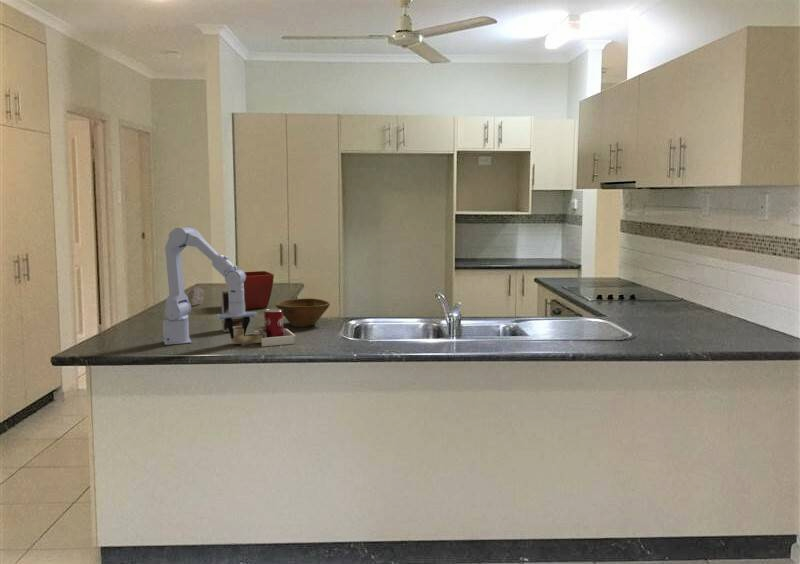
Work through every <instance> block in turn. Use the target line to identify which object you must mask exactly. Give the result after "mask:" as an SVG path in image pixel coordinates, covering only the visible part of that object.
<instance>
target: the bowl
mask: <svg viewBox="0 0 800 564" xmlns="http://www.w3.org/2000/svg"><path fill="white" fill-rule="evenodd" d="M274 305H275V307H276V309H281V310H282V311H283V317H284V318H285V319H286V321H288V322H289V323H290V325H291V326H293V327H300V328H302V327H304V328H305V326H307V327H311V325H312V326H315V324H317V323H318V321H319V320H320V319H321V317H322V316H323V315H324V313H325V312H327V310H328V309H329V307H330V305H331V303H330V301H327V300H324V299H320V298H319V299H318V298H311V297H310V298H309V297H308V298H292V299H291V298H290V299H284V300H281V301H277V302H276V303H275V304H274Z"/></svg>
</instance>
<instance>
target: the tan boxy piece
mask: <svg viewBox="0 0 800 564" xmlns="http://www.w3.org/2000/svg"><path fill="white" fill-rule="evenodd" d="M258 331H259V333H253V332H252V333H245V337H244V328H243V327H242V326H233V339H231V342H232V343H233V344H234V345H240V344H256V343H257V344H258V343H261V338H267V333H266V332H265V331H264V328H258Z"/></svg>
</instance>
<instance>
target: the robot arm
mask: <svg viewBox="0 0 800 564" xmlns="http://www.w3.org/2000/svg"><path fill="white" fill-rule="evenodd" d="M187 246H189V247H195V248H197V250H199V251H200V253H202V254H203V255H205V256H206V257H207V258H208V259H209V260H211V266H212V267H213V268H214V269H215V270H216V272H217V271H218V273H219V274H220V275H221V276H223V278H224V281H225V283H226V284H227V286H228V287H227V289H228V295H229V313H225V314H222V313H217V314H216V320H217V321H222V320H225V322H226V324H227V326H228V329H229V332H228V333H229V335H230V339H231V340H232V339H233V321H232V319H238V318H241V319H242V327H243V328H244V337H245V334H247V333H246V332H247V329H248V326H249V323H250V322H251V318H258V312H257V311H246V312H245V303H244V282H245V280H246V274H245V272H246V271H244V269H242V268H239V267H238V266H237V265H235V264H234V263H233V262H232V261H231V260H230V259H229V256H228V255H224V254H219V253H218V252H217V251H216V250H215V249H214V248H213V247H212V246H211V245H210V244H209V242H208V241H207V240H206V239H205V238H204V237H203V235H202V233H200V232H199V231H197V229H196V228H194V227H193V226H183V227H175V228H173V229H172V230H171V231H170V232H169V233H168V239H167V242H166V245H165V247H164V250H165V261H166V262H165V263H166V273H167V285H168V291H169V292H168V294H169V295H168V296H167V298H166V301H165V308H164V315H165V317H166V318H167V319H166V320H165V319H163V320H162V328H163V329H162V330H163V331H162V333H163V335H162V340H163V344H164V345H167V346H169V345H181V344H191V343H192V340H191V338H190V329H189V328H190V327H189V325H190V323H189V315H190V313H191V312H192V306H191V305H190V303H189V301H188V297H187V296H188V294H186V293H185V286H184V276H183V275H184V274H183V273H184V272H183V266H182V265H183V264H182V254H181V253H182V251H183V250H184V249H185V248H186V247H187ZM241 316H243V317H241Z"/></svg>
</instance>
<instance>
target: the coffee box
mask: <svg viewBox="0 0 800 564" xmlns="http://www.w3.org/2000/svg"><path fill="white" fill-rule="evenodd" d="M244 303H245V312H247V311H246V310H247V309H246V301H245V292H244ZM225 313H229V295H228V291H227V290H226V291H221V314H225ZM241 317H243V316H241ZM232 321H233V326H242V319H241V318H238V319H232ZM221 324H222V325H221V328H222V332H223V333H227V332H228V333H230V332H229V329H228V326H227V324H226V322H225V320H221Z"/></svg>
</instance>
